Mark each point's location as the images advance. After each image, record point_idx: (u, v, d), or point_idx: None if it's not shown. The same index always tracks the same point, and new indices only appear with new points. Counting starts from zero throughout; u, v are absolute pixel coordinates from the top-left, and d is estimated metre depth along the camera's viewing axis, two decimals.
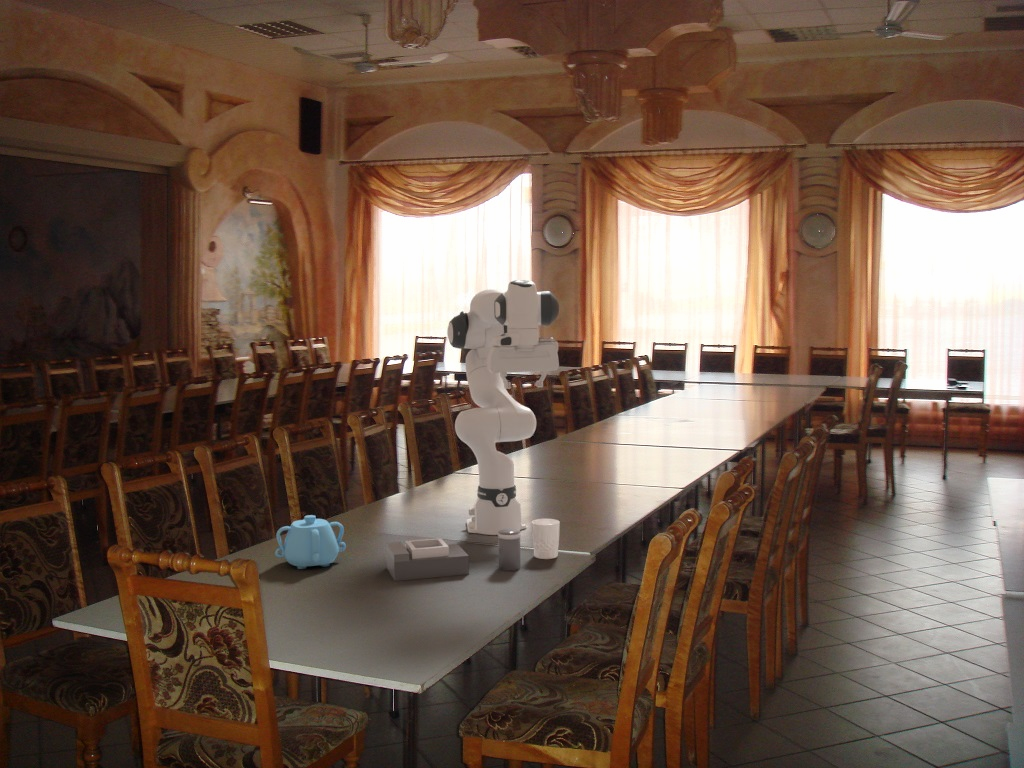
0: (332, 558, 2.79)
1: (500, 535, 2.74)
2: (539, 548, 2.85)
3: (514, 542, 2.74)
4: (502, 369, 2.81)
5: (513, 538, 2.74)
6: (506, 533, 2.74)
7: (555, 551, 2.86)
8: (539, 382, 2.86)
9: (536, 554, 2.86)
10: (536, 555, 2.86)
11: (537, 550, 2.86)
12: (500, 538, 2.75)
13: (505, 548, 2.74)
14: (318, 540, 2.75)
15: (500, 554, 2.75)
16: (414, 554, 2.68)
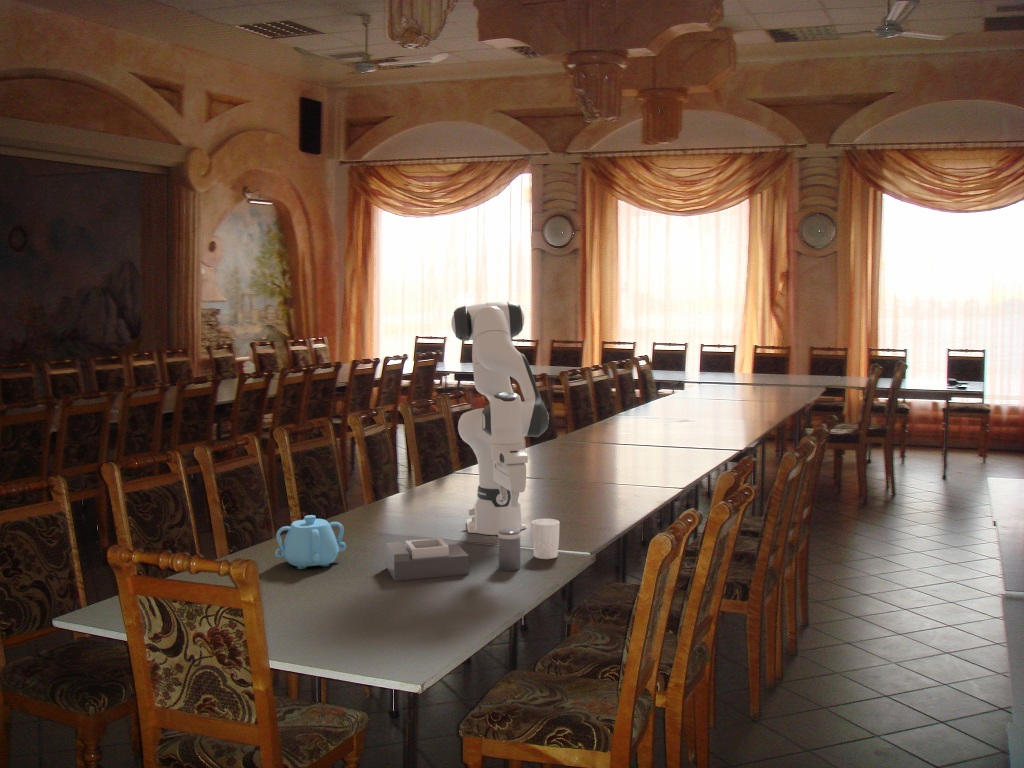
0: (332, 558, 2.79)
1: (500, 535, 2.74)
2: (539, 548, 2.85)
3: (514, 542, 2.74)
4: None
5: (513, 538, 2.74)
6: (506, 533, 2.74)
7: (555, 551, 2.86)
8: None
9: (536, 554, 2.86)
10: (536, 555, 2.86)
11: (537, 550, 2.86)
12: (500, 538, 2.75)
13: (505, 548, 2.74)
14: (318, 540, 2.75)
15: (500, 554, 2.75)
16: (414, 554, 2.68)
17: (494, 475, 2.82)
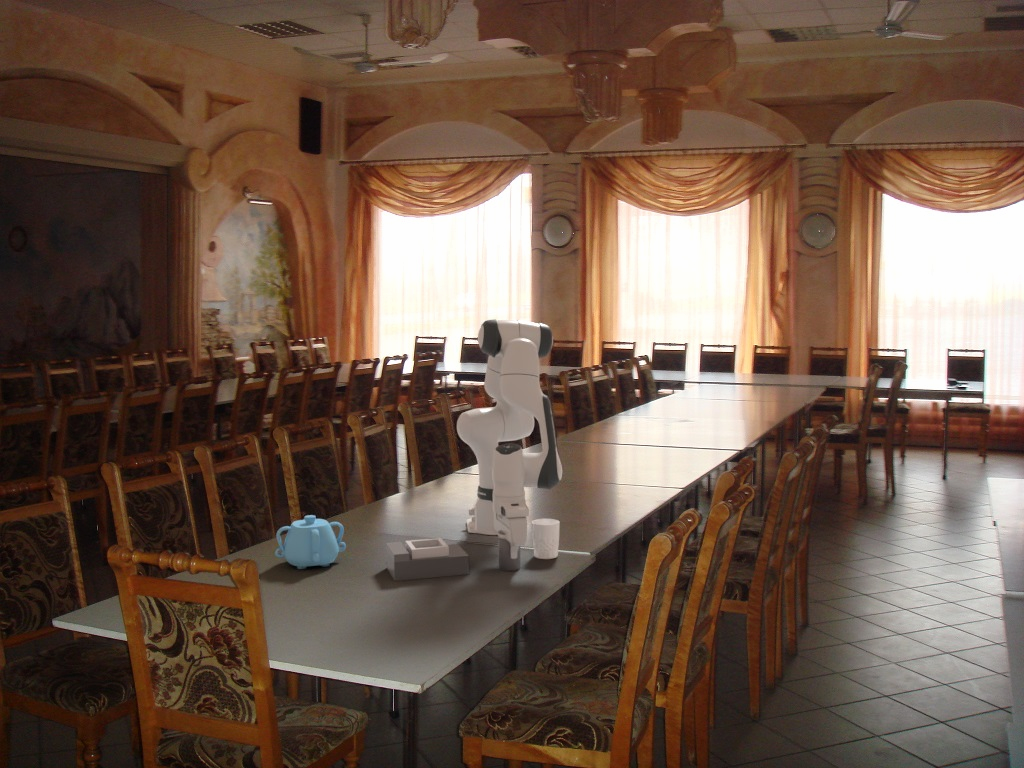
0: (332, 558, 2.79)
1: (500, 535, 2.74)
2: (539, 548, 2.85)
3: None
4: None
5: None
6: None
7: (555, 551, 2.86)
8: None
9: (536, 554, 2.86)
10: (536, 555, 2.86)
11: (537, 550, 2.86)
12: (500, 538, 2.75)
13: (505, 548, 2.74)
14: (318, 540, 2.75)
15: (500, 554, 2.75)
16: (414, 554, 2.68)
17: (495, 525, 2.83)
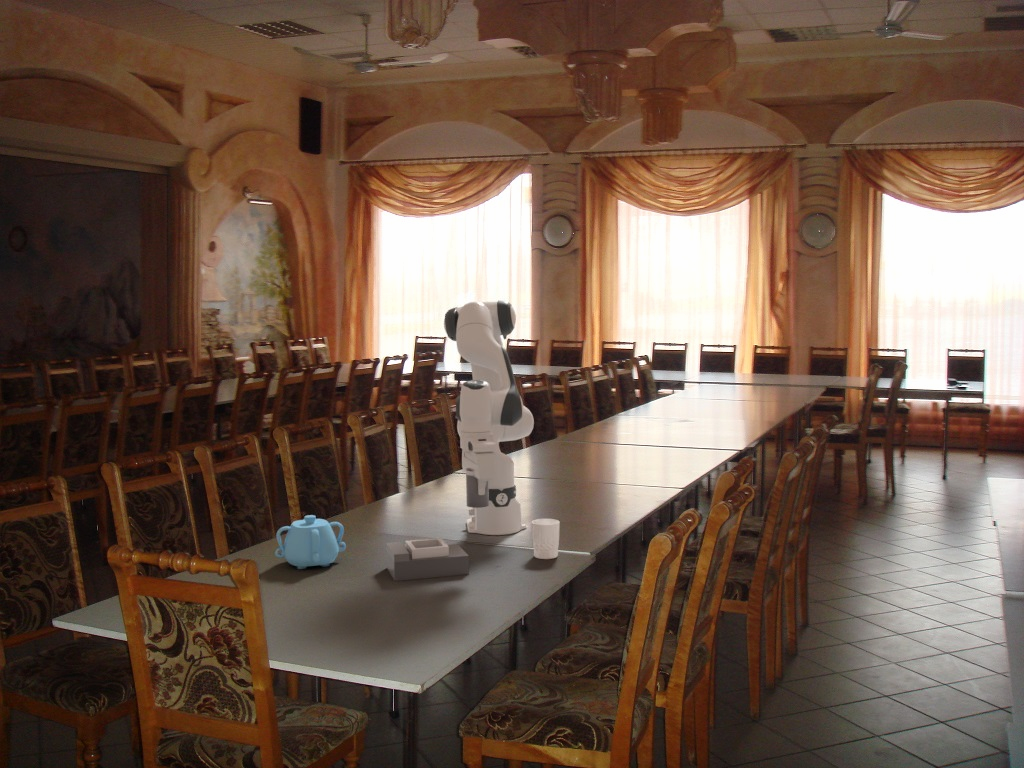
0: (332, 558, 2.79)
1: (468, 472, 2.72)
2: (539, 548, 2.85)
3: None
4: None
5: None
6: None
7: (555, 551, 2.86)
8: None
9: (536, 554, 2.86)
10: (536, 555, 2.86)
11: (537, 550, 2.86)
12: (468, 475, 2.72)
13: (473, 485, 2.71)
14: (318, 540, 2.75)
15: (468, 491, 2.72)
16: (414, 554, 2.68)
17: (463, 463, 2.80)
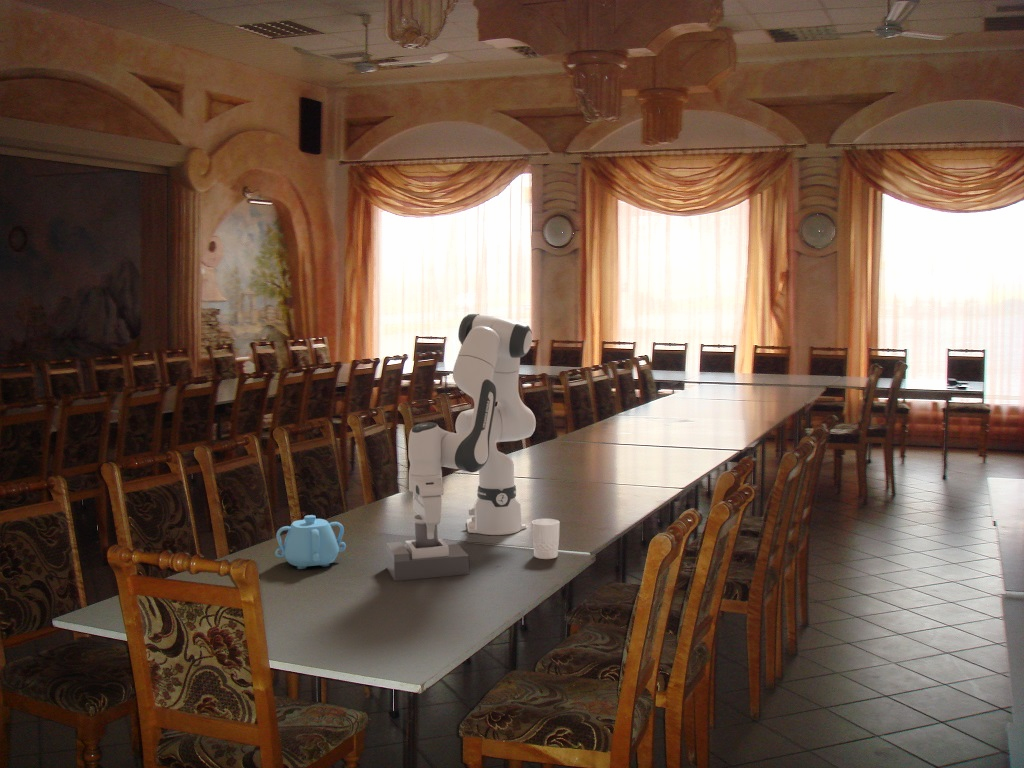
0: (332, 558, 2.79)
1: (416, 520, 2.72)
2: (539, 548, 2.85)
3: None
4: None
5: None
6: None
7: (555, 551, 2.86)
8: None
9: (536, 554, 2.86)
10: (536, 555, 2.86)
11: (537, 550, 2.86)
12: (416, 523, 2.72)
13: (421, 533, 2.71)
14: (318, 540, 2.75)
15: (417, 538, 2.72)
16: (414, 554, 2.68)
17: (414, 505, 2.80)
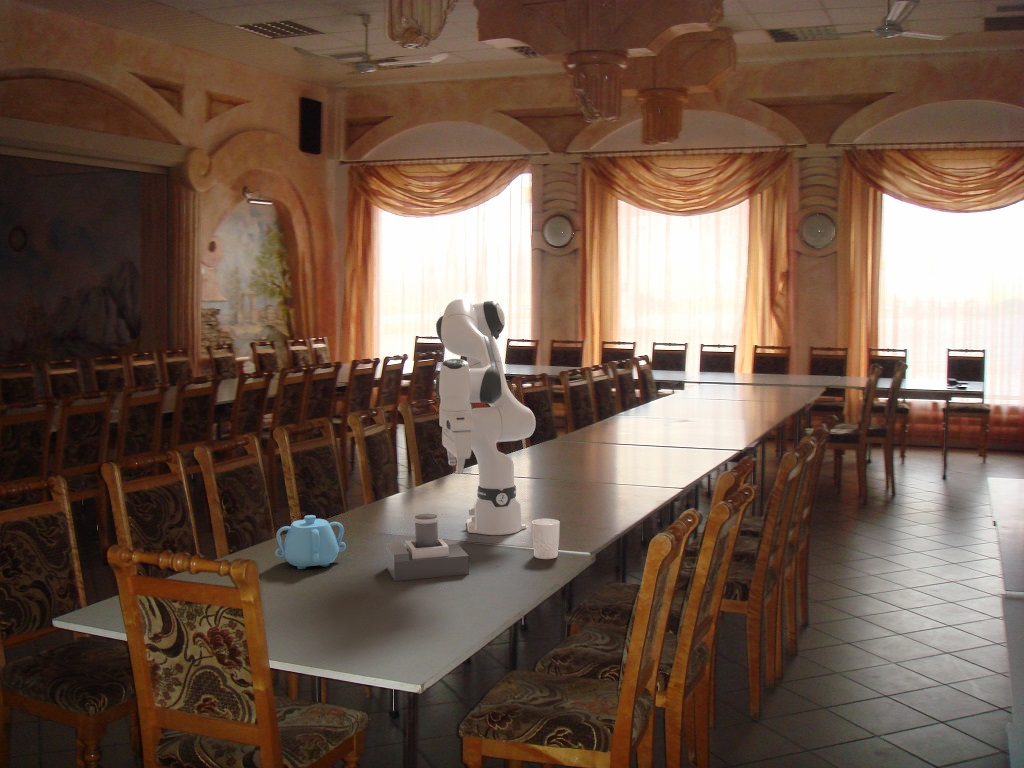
0: (332, 558, 2.79)
1: (416, 520, 2.72)
2: (539, 548, 2.85)
3: (430, 526, 2.71)
4: None
5: (429, 522, 2.71)
6: (422, 517, 2.72)
7: (555, 551, 2.86)
8: None
9: (536, 554, 2.86)
10: (536, 555, 2.86)
11: (537, 550, 2.86)
12: (416, 523, 2.72)
13: (421, 533, 2.71)
14: (318, 540, 2.75)
15: (417, 538, 2.72)
16: (414, 554, 2.68)
17: (443, 440, 2.86)
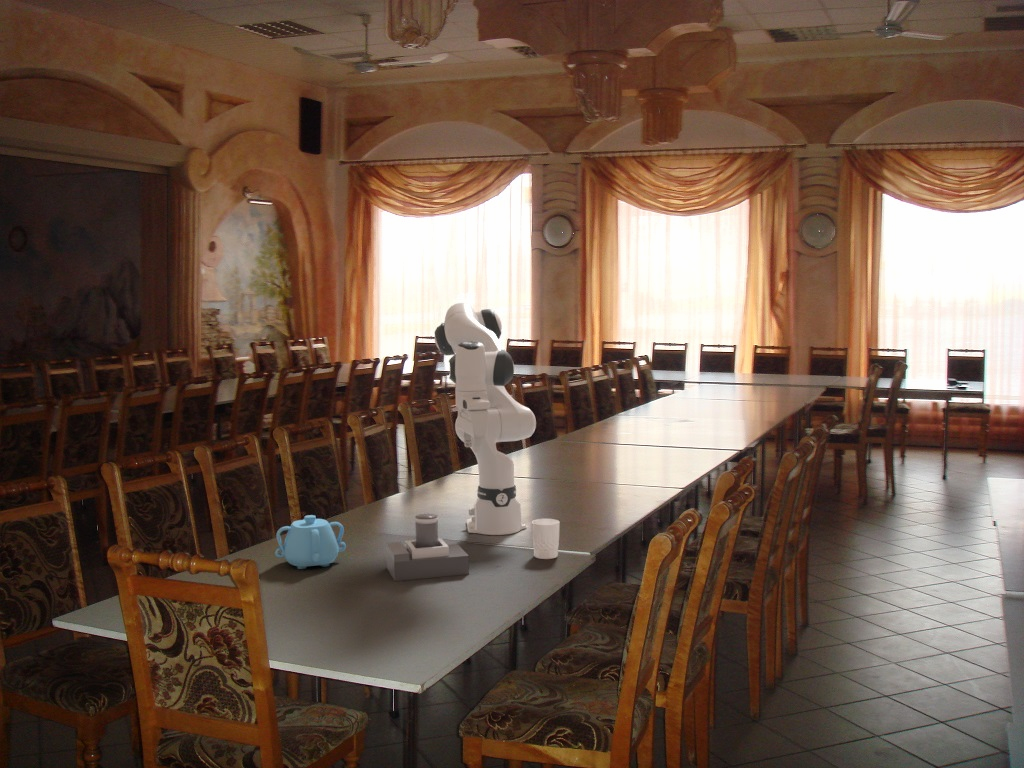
0: (332, 558, 2.79)
1: (417, 519, 2.72)
2: (539, 548, 2.85)
3: (431, 526, 2.71)
4: None
5: (429, 522, 2.71)
6: (423, 517, 2.72)
7: (555, 551, 2.86)
8: None
9: (536, 554, 2.86)
10: (536, 555, 2.86)
11: (537, 550, 2.86)
12: (416, 522, 2.72)
13: (421, 533, 2.71)
14: (318, 540, 2.75)
15: (417, 538, 2.72)
16: (414, 554, 2.68)
17: (459, 423, 2.90)
